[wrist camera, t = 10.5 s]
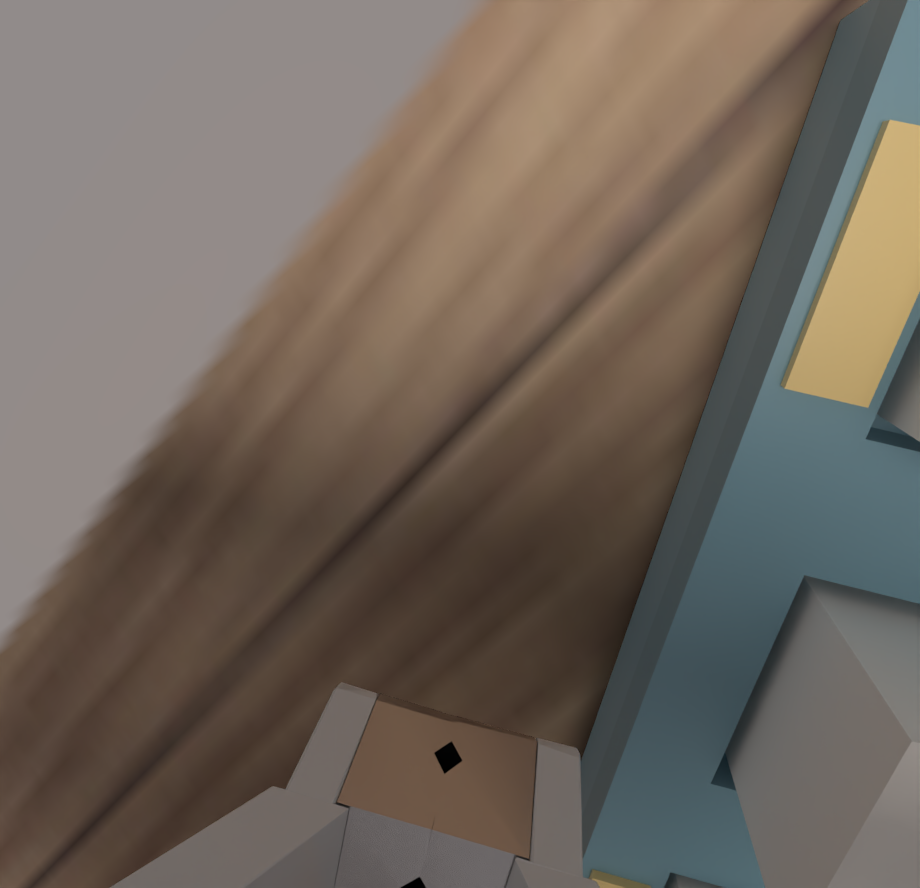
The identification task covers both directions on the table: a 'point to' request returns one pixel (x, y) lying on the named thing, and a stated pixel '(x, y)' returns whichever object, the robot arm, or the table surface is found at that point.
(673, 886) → the tab
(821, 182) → the switch bank
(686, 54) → the table surface
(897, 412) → the white slider switch
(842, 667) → the tab
